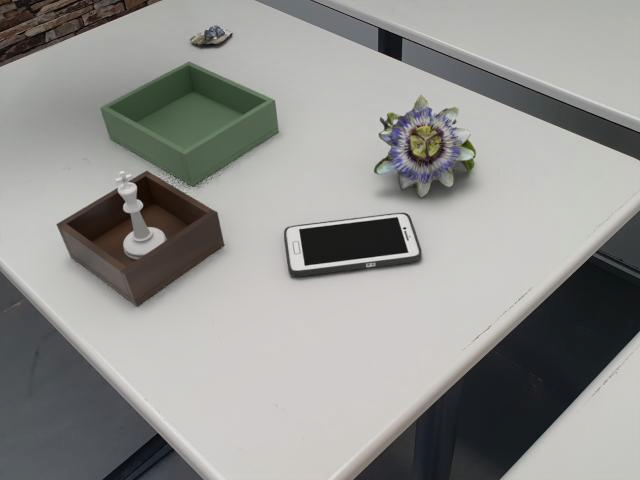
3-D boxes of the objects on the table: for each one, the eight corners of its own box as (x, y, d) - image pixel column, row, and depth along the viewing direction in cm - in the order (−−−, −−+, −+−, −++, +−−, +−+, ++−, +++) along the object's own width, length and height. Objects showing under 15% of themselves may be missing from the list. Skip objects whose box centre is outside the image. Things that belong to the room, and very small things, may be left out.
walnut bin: (70, 256, 79) (55, 224, 76) (156, 202, 85) (146, 170, 82) (137, 307, 73) (124, 274, 70) (224, 245, 79) (217, 212, 76)
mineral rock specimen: (187, 49, 112) (185, 38, 110) (195, 27, 117) (193, 15, 116) (228, 48, 111) (227, 36, 110) (235, 25, 117) (233, 14, 115)
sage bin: (109, 138, 95) (99, 107, 92) (195, 91, 103) (188, 61, 99) (192, 186, 87) (184, 154, 83) (279, 131, 94) (275, 99, 91)
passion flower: (420, 228, 88) (369, 181, 79) (401, 166, 93) (352, 116, 84) (501, 182, 83) (456, 127, 74) (475, 119, 88) (431, 61, 79)
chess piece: (173, 249, 78) (152, 176, 71) (132, 265, 77) (106, 192, 69) (158, 225, 81) (136, 153, 74) (118, 241, 79) (91, 168, 72)
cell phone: (283, 233, 80) (282, 226, 79) (408, 217, 81) (409, 211, 80) (289, 279, 75) (288, 272, 74) (423, 262, 75) (423, 255, 75)
